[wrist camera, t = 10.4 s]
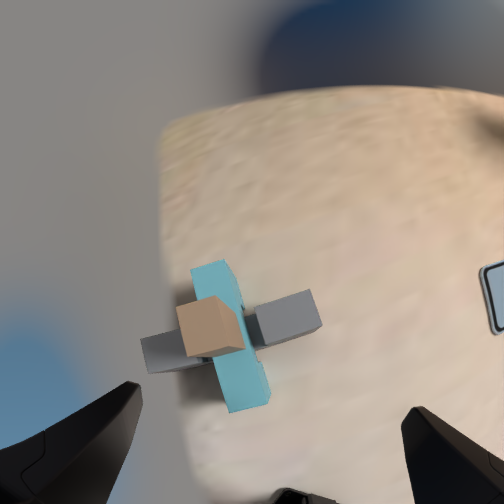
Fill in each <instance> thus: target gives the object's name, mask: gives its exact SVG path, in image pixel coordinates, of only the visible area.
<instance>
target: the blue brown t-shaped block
mask: <svg viewBox="0 0 504 504" xmlns="http://www.w3.org/2000/svg"><path fill="white" fill-rule="evenodd" d="M190 271H191V276H192V280H193V284H194V289H195V293H196V297H197V301H194V302H191V303H187V304H184V305H180V306H177V307H176V312H177V316H178V320H179V325H180V329H181V333H182V337H183V341H184V345H185V349H186V353H187V357H212V358H213V362H214V365H215V369H216V372H217V376H218V379H219V382H220V386H221V389H222V392H223V395H224V399H225V402H226V405H227V408H228V411H229V413H233V412H237V411H241V410H245V409H249V408H253V407H257V406H261V405H265V404H268V401H269V398H270V396H271V391H270V388H269V384H268V381H267V378H266V375H265V372H264V369H263V365H262V362H258V361H257V357H256V354H255V351H254V348H253V344H252V341H251V338H250V334H249V331H248V328H247V324H246V321H245V318H244V314H243V311H242V310H245V306H244V303H243V300H242V296H241V293H240V289H239V286H238V283H237V279H236V277H235V276H234V274H233V272H232V271H231V269H230V268H229V266H228V264H227V263H226V261H225V259H223V260H220V261H216V262H213V263H210V264H207V265H204V266H201V267H198V268H195V269H192V270H190Z"/></svg>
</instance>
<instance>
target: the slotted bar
mask: <svg viewBox="0 0 504 504" xmlns="http://www.w3.org/2000/svg"><path fill="white" fill-rule="evenodd" d="M254 309H255V312H256V314H253V315H250V316H246V317H244V318H245V321H246V324H247V328H248V331H249V334H250V338H251V341H252V344H253V348H254V351H257V350H260V349H264V348H267V347H270V346H273V345H277V344H280V343H283V342H286V341H289V340H292V339H295V338H298V337H301V336H304V335H307V334H309V333H312V332H315V331H316V330H317V329H319V328H320V327H321V326H322V322H321V319H320V316H319V313H318V311H317V308H316V305H315V302H314V299H313V297H312V294H311V291H310V289H308V290H305V291H302V292H299V293H296V294H293V295H290V296H287V297H284V298H281V299H278V300H275V301H272V302H269V303H266V304H262V305H259V306H256V307H254ZM140 340H141V345H142V349H143V354H144V358H145V362H146V366H147V371H148V374H151V373H164V372H175V371H180V370H184V369H189V368H193V367H197V366H201V365H205V364H209V363H213V358H212V357H187V353H186V349H185V345H184V341H183V337H182V333H181V329H177V330H174V331H170V332H166V333H162V334H158V335H155V336H151V337H147V338H143V339H140Z"/></svg>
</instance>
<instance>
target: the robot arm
mask: <svg viewBox="0 0 504 504" xmlns="http://www.w3.org/2000/svg"><path fill="white" fill-rule="evenodd" d="M142 405H143V400H142V393H141V386H140V385H139V384H138V383H134V382H130V381H126V382H125V383H123V384H121V385H120V386H118V387H117V388H115V389H113V390H112V391H110V392H108V393H107V394H105V395H103V396H102V397H100V398H99V399H97V400H95V401H94V402H92V403H90V404H88V405H87V406H85V407H84V408H82V409H80V410H78V411H77V412H75V413H73V414H71V415H70V416H68V417H67V418H65V419H63V420H61V421H59V422H58V423H56V424H54V425H52V426H50V427H49V428H47V429H46V430H45V431H44V430H43V431H41V432H40V433H38V434H36V435H34V436H32V437H30V438H28V439H26V440H24V441H22V442H20V443H17V444H15V445H12V446H9V447H7V448H4V449H1V450H0V504H106V503H107V500H108V498H109V496H110V493H111V491H112V488H113V486H114V484H115V481H116V479H117V477H118V474H119V472H120V470H121V467H122V465H123V463H124V460H125V458H126V456H127V454H128V451H129V449H130V446H131V443H132V440H133V436H134V433H135V429H136V426H137V423H138V419H139V416H140V413H141V409H142ZM401 431H402V437H403V444H404V451H405V459H406V464H407V469H408V473H409V477H410V482H411V487H412V491H413V496H414V501H415V504H504V461H503V460H501V459H500V458H498V457H496V456H495V455H493V454H492V453H490V452H489V451H487V450H486V449H484V448H483V447H481V446H480V445H478V444H477V443H475V442H474V441H472V440H471V439H469V438H468V437H466V436H465V435H463V434H462V433H461V432H459V431H458V430H456V429H455V428H453V427H452V426H450V425H449V424H447V423H446V422H445V421H443V420H442V419H440V418H439V417H437V416H436V415H435V414H433V413H432V412H430V411H429V410H427V409H426V408H425V407H423V406H418V407H413V408H412V409H411V410H410V411H409V413H408V414H407V416H406V417H405V419H404V420H403V422H402V424H401ZM287 492H290V493H291V494H290V495H287V494H286V493H287ZM273 504H339V503H336V501H335V500H331V499H328V498H324V497H321V496H318V495H315V494H305V493H302V492H300V491H297V490H294V489H291V488H287V489H284V490H283V491H282V493H281V494H280V495H279V497H278V498H277V499H276V500H275V501H274V503H273Z"/></svg>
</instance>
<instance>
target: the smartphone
mask: <svg viewBox="0 0 504 504" xmlns="http://www.w3.org/2000/svg"><path fill="white" fill-rule="evenodd" d="M480 278H481V282H482V285H483V289H484V294H485V298H486V300H487V305H488V306H487V307H488V312H489V315H490V316H489V317H490V322H491V328H492V331H493V333H494V334H496V335H498V334H501V333H503V332H504V260H501V261H498V262H495V263H492V264H489V265H486V266H484V267H483V268H482V269H481V271H480Z"/></svg>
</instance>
